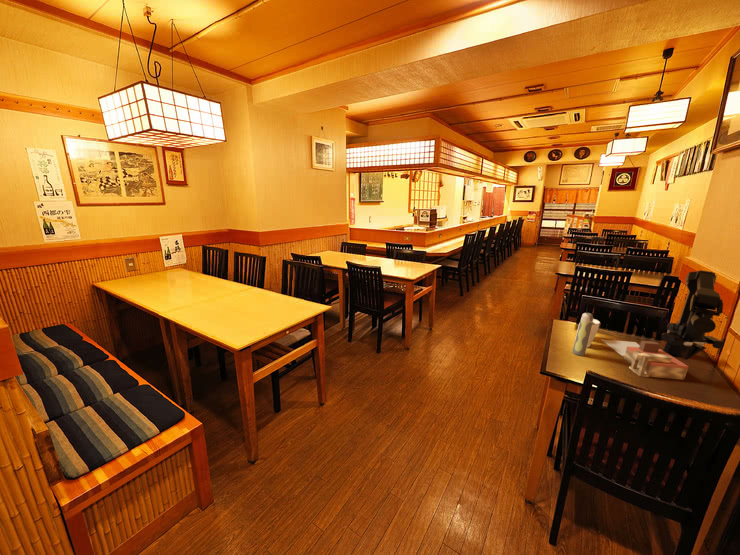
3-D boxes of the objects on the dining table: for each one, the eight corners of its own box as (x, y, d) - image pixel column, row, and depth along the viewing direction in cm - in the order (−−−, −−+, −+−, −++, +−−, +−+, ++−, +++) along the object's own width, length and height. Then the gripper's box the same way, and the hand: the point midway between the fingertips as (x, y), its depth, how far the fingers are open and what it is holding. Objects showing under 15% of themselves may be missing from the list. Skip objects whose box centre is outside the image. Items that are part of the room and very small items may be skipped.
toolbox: (656, 361, 137) (662, 343, 135) (685, 380, 123) (692, 361, 121) (616, 357, 139) (621, 340, 137) (639, 376, 125) (646, 357, 123)
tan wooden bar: (665, 359, 126) (667, 355, 126) (670, 362, 124) (671, 358, 123) (631, 356, 128) (633, 352, 127) (636, 359, 125) (637, 355, 125)
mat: (634, 342, 154) (635, 342, 154) (660, 359, 139) (660, 358, 139) (601, 340, 156) (601, 339, 156) (622, 356, 141) (623, 355, 140)
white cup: (598, 342, 154) (603, 324, 151) (583, 341, 154) (587, 323, 151) (588, 335, 161) (592, 317, 158) (573, 334, 161) (577, 316, 159)
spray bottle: (575, 349, 145) (585, 310, 139) (586, 354, 141) (597, 314, 135) (570, 352, 142) (579, 312, 137) (581, 357, 138) (592, 316, 133)
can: (587, 342, 152) (593, 320, 149) (592, 348, 146) (598, 326, 143) (572, 340, 154) (578, 318, 151) (576, 346, 148) (582, 323, 145)
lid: (659, 351, 136) (663, 341, 135) (687, 368, 123) (691, 357, 121) (626, 348, 137) (629, 338, 136) (650, 365, 124) (654, 354, 123)
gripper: (704, 317, 127) (691, 351, 131) (655, 314, 129) (645, 347, 133) (731, 329, 116) (717, 365, 121) (678, 325, 118) (666, 361, 122)
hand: (684, 359), depth 124 cm, fingers closed
